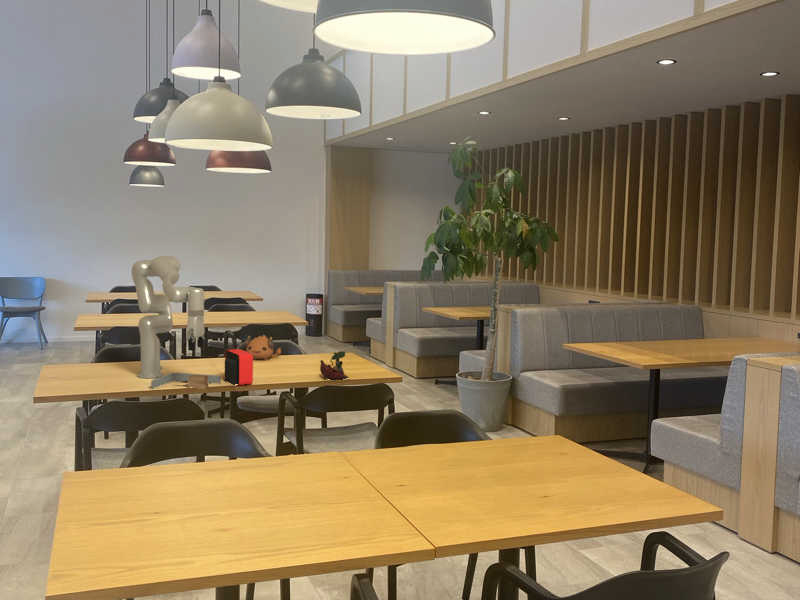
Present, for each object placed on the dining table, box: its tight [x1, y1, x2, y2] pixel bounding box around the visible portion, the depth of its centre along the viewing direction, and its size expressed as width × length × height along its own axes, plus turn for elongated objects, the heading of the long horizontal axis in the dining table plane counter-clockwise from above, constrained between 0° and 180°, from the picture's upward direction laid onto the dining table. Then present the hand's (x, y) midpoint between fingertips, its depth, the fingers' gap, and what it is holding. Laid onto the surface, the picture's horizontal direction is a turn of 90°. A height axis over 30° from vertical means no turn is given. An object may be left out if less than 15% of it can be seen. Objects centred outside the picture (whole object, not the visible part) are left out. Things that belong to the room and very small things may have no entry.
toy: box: [244, 334, 282, 361], centre depth 454 cm, size 19×17×15 cm
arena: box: [150, 372, 222, 388], centre depth 375 cm, size 22×26×4 cm
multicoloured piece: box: [319, 350, 349, 380], centre depth 401 cm, size 14×15×15 cm
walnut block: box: [187, 373, 209, 390], centre depth 372 cm, size 5×8×6 cm, turn 80°
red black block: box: [224, 348, 254, 386], centre depth 386 cm, size 10×20×16 cm, turn 33°
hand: (196, 348), depth 370 cm, fingers open, 9 cm apart
